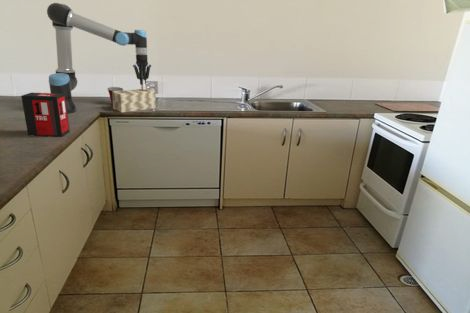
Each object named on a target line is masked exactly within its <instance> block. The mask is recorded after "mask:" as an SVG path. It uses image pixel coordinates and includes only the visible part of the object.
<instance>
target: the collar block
mask: <svg viewBox="0 0 470 313" xmlns="http://www.w3.org/2000/svg"><path fill="white" fill-rule="evenodd" d="M139 89H140V88H139ZM139 89H127V90H123V91H113V92H112V98H113V105H112V108H113V110H114V111H117V112H119V113H128V112H137V111H144V110H151V109H153V110H154V109H156V108H157V103H156V101H157V100H156V91H155V90H152V89H149V88H145V89H146V90H148V91H139ZM121 92H129V93H121Z"/></svg>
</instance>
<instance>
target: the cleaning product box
mask: <svg viewBox="0 0 470 313" xmlns="http://www.w3.org/2000/svg"><path fill="white" fill-rule="evenodd" d="M20 97H21V102H22V108H23V109H22V110H23V113H24V119H25V125H26V131H27V136H28V135H34V136H33V137H48V136H52V137H53V138H57V137H58V138H63V137H65V136H66V135H68V134H70V133H71V131H70V130H71V129H70V123H69V117H68V116H69V115H68V114H69V113H67V107H66V99H65V94H54V93H51V92H50V93H49V92H28V93H26V94H22V95H21V96H20Z"/></svg>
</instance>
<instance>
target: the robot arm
mask: <svg viewBox="0 0 470 313" xmlns="http://www.w3.org/2000/svg"><path fill="white" fill-rule="evenodd" d="M46 14H47V17H48V18H49V20H50V21H51V23H52V27H53V28H54V30H55V43H56V55H57V56H56V57H57V69H55V73H52V74H49V76H48V84H49V91H50V93H54V94H65V99H66V107H67V114H71V113H75V112H77V107H76V105H75V102H74V101H73V96H72V91H73V90H75V88H76V87H77V86H78V79H77V76H76V71H75V70H74V69H73V51H72V34H71V31H72V30H73V29H74V28H75V29H78V30H81V31H84V32H87V33H89V34H92V35H94V36H97V37H100V38H102V39H105V40H108V41H110V42H113V43H115V44H117V45H119V46H126V45H127V46H128V45H129V46H130V45H131V46H135V60H136V62H135V64H133V65H132V68H134V72H135V76H136V79H137V80H139V84H140V87H141V88H140V89H143V90H145V89H146V85H147V80H148V79H149V78H150V70H151V68H152V64H150V63H149V61H148V59H149V58H148V43H147V42H148V38H147V31H146V30H144V29H134V30H133V31H134V32H123V31H121V30H117V29H115V28H113V27H110V26H107V25H104V24H103V23H100V22H97V21H95V20H92V19H90V18H87V17H85V16H82V15H79V14H77V13H76V12H75V13H74V11H73V9H72V8H71V7H69V6H68V5H67V4H64V3H58V2H53V3H51V4H49V5H48V6H47V9H46Z"/></svg>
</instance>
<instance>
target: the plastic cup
mask: <svg viewBox="0 0 470 313" xmlns="http://www.w3.org/2000/svg"><path fill="white" fill-rule="evenodd" d="M106 89H107V91H108V94H109V98H110V102H111V105H112V106H113V98H112V92H113V91H124V88H123V87H119V86H118V87H117V86H110V87H107V88H106Z"/></svg>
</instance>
